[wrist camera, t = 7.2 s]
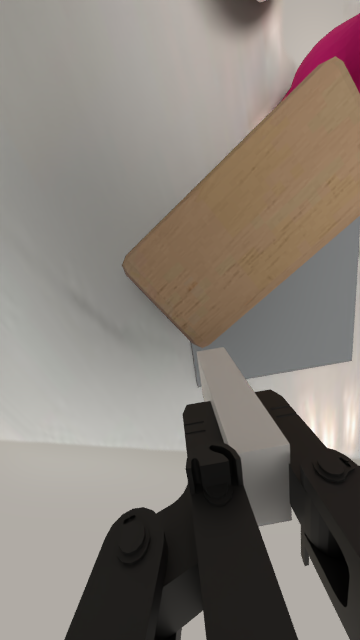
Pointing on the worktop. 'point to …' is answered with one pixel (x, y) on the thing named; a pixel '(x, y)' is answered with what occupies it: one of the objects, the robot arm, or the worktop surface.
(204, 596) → the robot arm
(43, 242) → the worktop surface
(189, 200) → the block
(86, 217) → the worktop surface
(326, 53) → the pepper mill
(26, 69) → the worktop surface
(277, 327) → the mat
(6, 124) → the worktop surface
